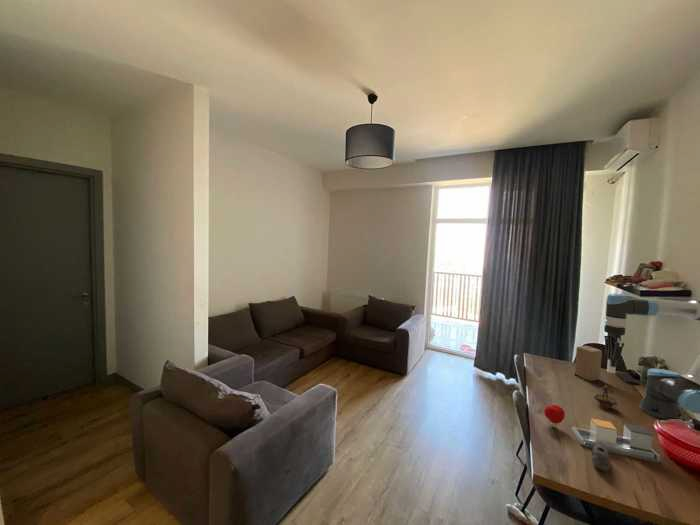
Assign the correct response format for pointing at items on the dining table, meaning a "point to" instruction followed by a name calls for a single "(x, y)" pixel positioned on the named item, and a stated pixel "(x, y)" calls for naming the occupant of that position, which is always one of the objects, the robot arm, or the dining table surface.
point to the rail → (624, 442)
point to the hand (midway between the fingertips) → (611, 372)
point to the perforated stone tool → (601, 456)
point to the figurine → (605, 399)
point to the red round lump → (554, 414)
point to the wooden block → (588, 362)
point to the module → (603, 431)
